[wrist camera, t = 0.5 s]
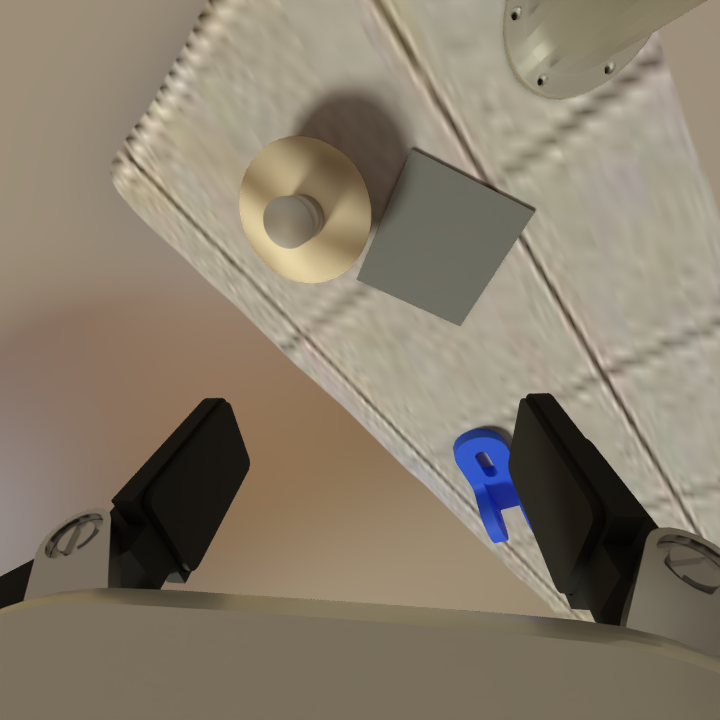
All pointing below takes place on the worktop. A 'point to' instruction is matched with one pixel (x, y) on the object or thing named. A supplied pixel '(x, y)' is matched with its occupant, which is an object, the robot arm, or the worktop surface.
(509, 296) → the worktop surface
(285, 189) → the lid
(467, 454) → the bracket
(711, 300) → the worktop surface
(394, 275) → the mat
